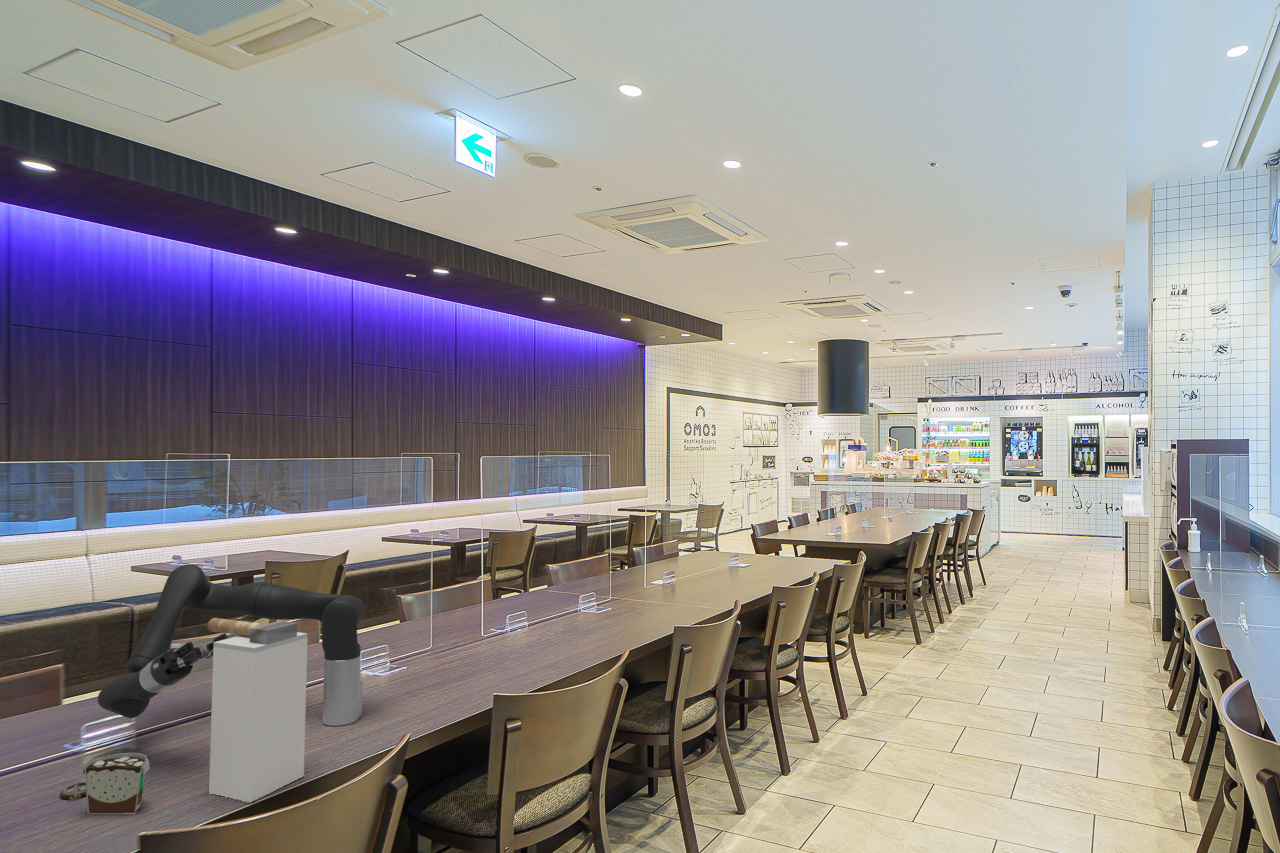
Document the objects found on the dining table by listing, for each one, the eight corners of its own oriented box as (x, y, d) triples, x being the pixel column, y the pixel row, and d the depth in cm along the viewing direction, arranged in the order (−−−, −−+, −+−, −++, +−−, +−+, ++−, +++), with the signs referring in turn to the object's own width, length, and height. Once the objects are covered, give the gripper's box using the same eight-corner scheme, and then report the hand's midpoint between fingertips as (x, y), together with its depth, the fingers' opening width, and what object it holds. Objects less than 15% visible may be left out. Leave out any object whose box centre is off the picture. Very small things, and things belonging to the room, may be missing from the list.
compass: (62, 791, 159) (63, 756, 159) (107, 783, 163) (108, 749, 163) (54, 806, 152) (56, 770, 152) (102, 798, 156) (103, 763, 156)
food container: (161, 800, 155) (163, 751, 155) (142, 814, 149) (144, 763, 149) (101, 800, 155) (103, 751, 155) (80, 814, 148) (82, 764, 149)
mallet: (197, 635, 165) (197, 621, 165) (228, 627, 173) (229, 614, 173) (266, 644, 157) (267, 630, 158) (296, 636, 165) (297, 622, 165)
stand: (264, 768, 171) (268, 628, 172) (303, 777, 166) (307, 633, 168) (208, 794, 158) (213, 642, 159) (250, 804, 153) (254, 648, 155)
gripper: (130, 663, 168) (174, 633, 164) (189, 648, 182) (231, 620, 177) (140, 694, 167) (185, 664, 162) (199, 677, 180) (242, 649, 175)
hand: (209, 641), depth 169 cm, fingers open, 8 cm apart
